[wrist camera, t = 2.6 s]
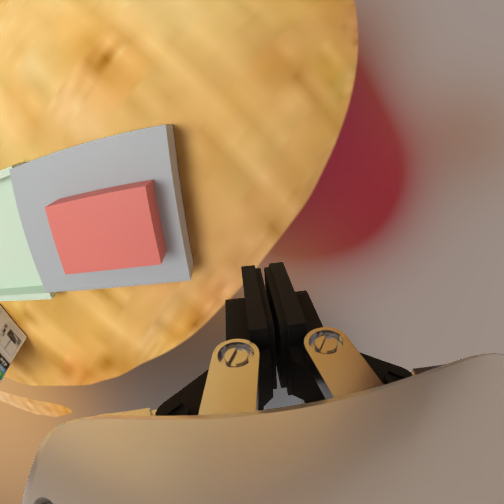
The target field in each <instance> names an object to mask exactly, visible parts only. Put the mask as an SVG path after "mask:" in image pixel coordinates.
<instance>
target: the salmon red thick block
mask: <svg viewBox="0 0 504 504" xmlns="http://www.w3.org/2000/svg"><path fill="white" fill-rule="evenodd" d="M45 210H46V214H47V218H48V222H49V225H50V229H51V232H52V236H53V239H54V242H55V245H56V249H57V252H58V255H59V258H60V261H61V263H62V266H63V269H64V272H65V275H67V274H76V273H86V272H95V271H105V270H114V269H123V268H133V267H142V266H152V265H161V264H162V262H163V259H164V257H165V254H166V252H167V249H166V245H165V240H164V235H163V230H162V225H161V220H160V215H159V209H158V204H157V198H156V192H155V186H154V180H153V179H152V180H146V181H140V182H135V183H129V184H124V185H119V186H114V187H109V188H104V189H99V190H95V191H90V192H85V193H81V194H77V195H73V196H68V197H64V198H60V199H58V200H56V201H54V202H53V203H51V204H49V205H48V206H46V207H45Z"/></svg>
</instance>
